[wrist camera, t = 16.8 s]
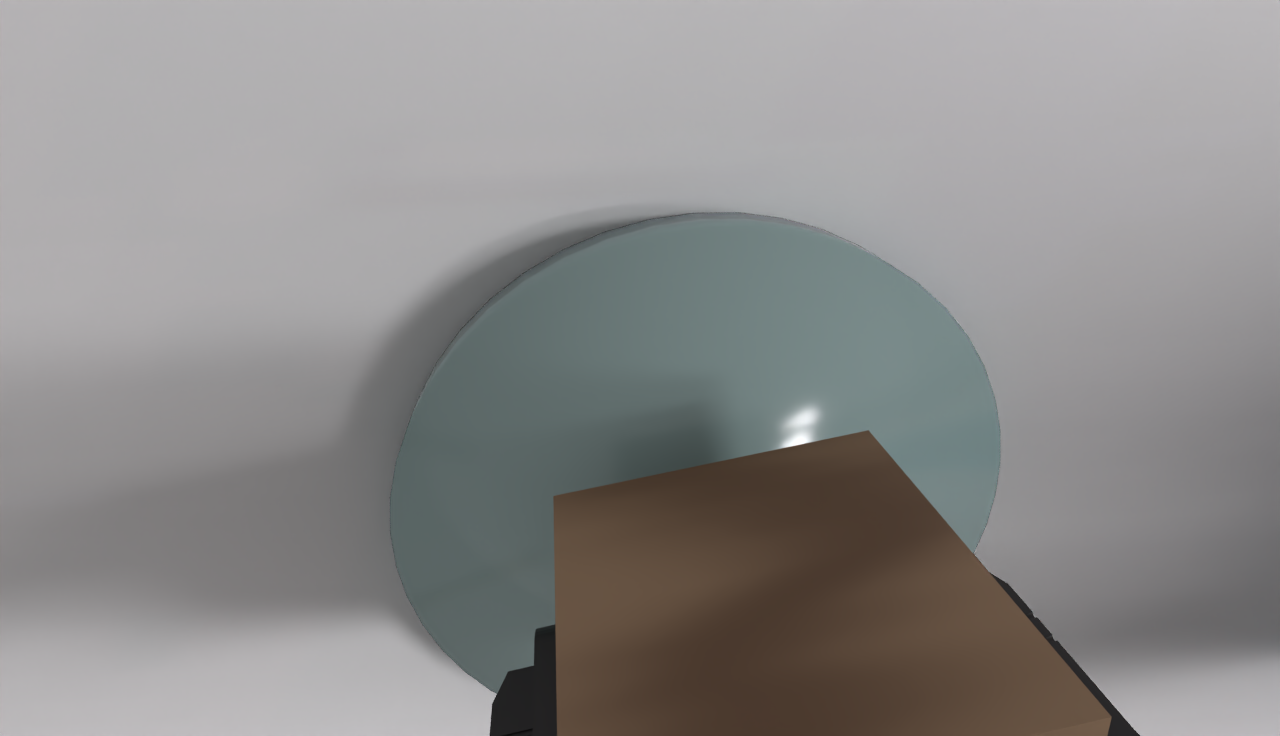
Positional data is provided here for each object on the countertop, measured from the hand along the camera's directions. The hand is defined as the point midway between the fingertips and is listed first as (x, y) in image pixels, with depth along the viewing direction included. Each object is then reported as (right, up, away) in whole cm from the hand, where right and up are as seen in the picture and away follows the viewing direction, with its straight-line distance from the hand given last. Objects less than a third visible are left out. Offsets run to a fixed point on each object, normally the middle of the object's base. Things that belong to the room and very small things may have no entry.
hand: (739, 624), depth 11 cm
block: (0, 0, +1) cm, 1 cm away
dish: (0, +1, +3) cm, 3 cm away
